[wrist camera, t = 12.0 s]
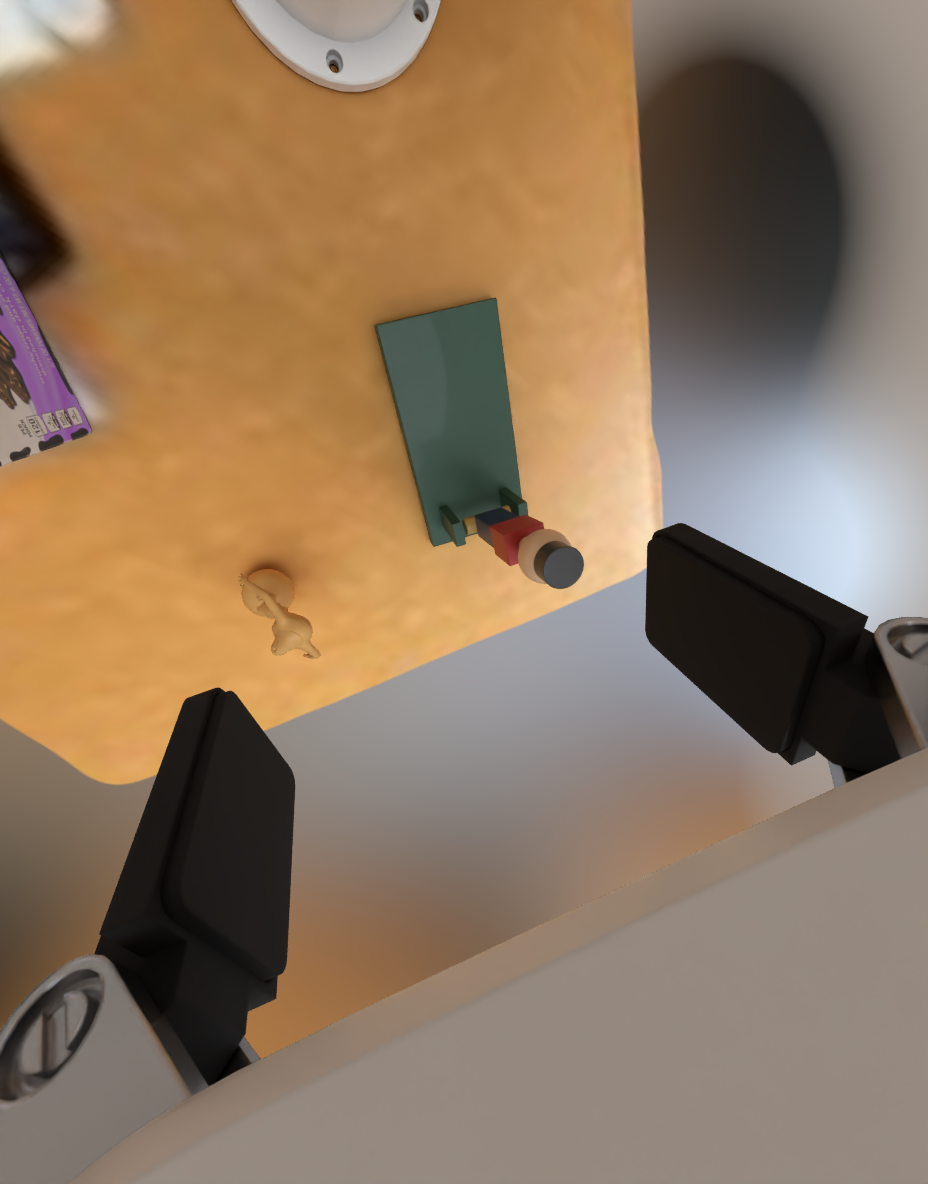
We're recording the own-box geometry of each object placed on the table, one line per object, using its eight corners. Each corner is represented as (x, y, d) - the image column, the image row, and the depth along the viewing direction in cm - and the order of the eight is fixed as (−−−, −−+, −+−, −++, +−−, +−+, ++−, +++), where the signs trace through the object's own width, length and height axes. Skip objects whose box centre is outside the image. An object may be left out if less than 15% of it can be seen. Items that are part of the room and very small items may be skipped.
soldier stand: (373, 325, 31) (384, 321, 26) (491, 298, 32) (520, 290, 28) (430, 542, 40) (445, 568, 36) (519, 514, 42) (545, 536, 37)
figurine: (216, 555, 35) (177, 637, 25) (282, 520, 35) (268, 588, 25) (279, 626, 40) (267, 719, 30) (337, 595, 40) (344, 677, 30)
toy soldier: (524, 551, 22) (535, 605, 24) (593, 529, 23) (600, 583, 24) (458, 506, 35) (466, 543, 37) (503, 493, 36) (510, 529, 37)
